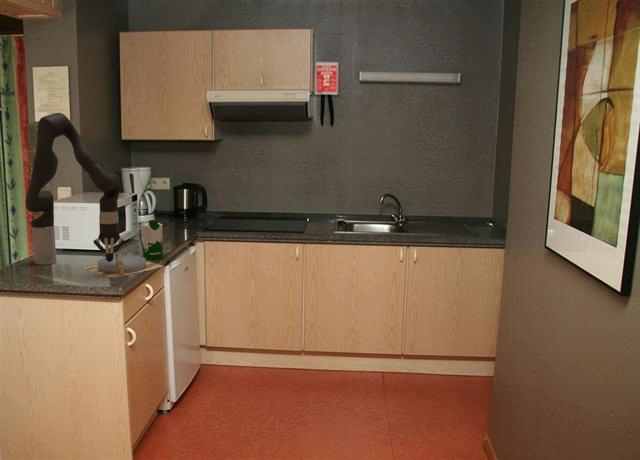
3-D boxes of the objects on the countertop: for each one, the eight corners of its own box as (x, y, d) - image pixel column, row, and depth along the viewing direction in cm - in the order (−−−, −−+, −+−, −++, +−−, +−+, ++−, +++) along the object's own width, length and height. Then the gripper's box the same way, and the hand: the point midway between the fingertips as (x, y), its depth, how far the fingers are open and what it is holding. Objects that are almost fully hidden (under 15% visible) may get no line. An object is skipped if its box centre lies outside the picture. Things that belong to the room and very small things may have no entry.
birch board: (79, 270, 240) (79, 258, 239) (130, 259, 261) (130, 248, 260) (113, 281, 225) (113, 268, 224) (165, 269, 246) (165, 257, 245)
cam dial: (102, 262, 249) (101, 245, 247) (147, 260, 253) (147, 244, 252) (94, 274, 230) (93, 255, 228) (143, 272, 234) (143, 254, 232)
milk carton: (147, 263, 254) (145, 222, 251) (140, 259, 261) (139, 219, 258) (165, 261, 260) (164, 220, 256) (158, 257, 267) (157, 217, 263)
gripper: (91, 223, 222) (92, 264, 226) (125, 223, 227) (125, 263, 230) (92, 220, 229) (93, 259, 233) (125, 219, 234) (126, 259, 237)
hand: (109, 261), depth 231 cm, fingers closed
